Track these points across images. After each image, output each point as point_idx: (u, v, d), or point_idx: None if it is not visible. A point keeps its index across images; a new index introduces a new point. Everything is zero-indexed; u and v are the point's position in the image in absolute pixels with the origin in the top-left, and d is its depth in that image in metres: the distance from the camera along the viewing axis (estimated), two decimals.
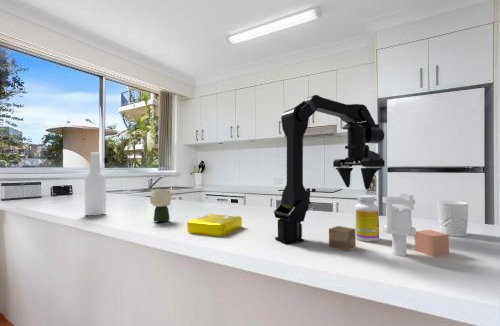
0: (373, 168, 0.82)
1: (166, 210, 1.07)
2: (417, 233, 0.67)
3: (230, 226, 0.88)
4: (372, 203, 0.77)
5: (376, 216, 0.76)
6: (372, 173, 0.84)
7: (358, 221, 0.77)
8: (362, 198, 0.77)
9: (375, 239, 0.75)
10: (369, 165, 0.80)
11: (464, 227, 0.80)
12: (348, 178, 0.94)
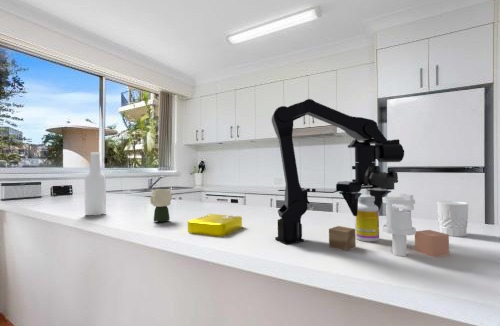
0: (344, 193, 0.76)
1: (166, 210, 1.07)
2: (417, 233, 0.67)
3: (230, 226, 0.88)
4: (372, 203, 0.77)
5: (376, 216, 0.76)
6: (353, 199, 0.75)
7: (358, 221, 0.77)
8: (362, 198, 0.77)
9: (375, 239, 0.75)
10: None
11: (464, 227, 0.80)
12: (377, 203, 0.80)
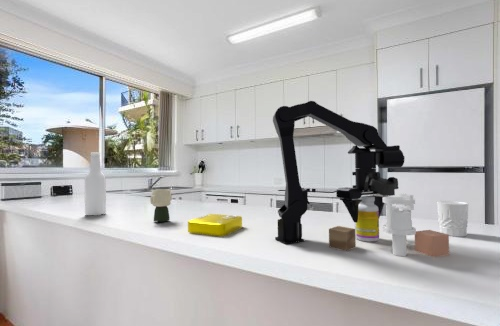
0: (345, 199, 0.76)
1: (166, 210, 1.07)
2: (417, 233, 0.67)
3: (230, 226, 0.88)
4: (372, 203, 0.77)
5: (376, 216, 0.76)
6: (353, 205, 0.75)
7: (358, 221, 0.77)
8: (362, 198, 0.77)
9: (375, 239, 0.75)
10: None
11: (464, 227, 0.80)
12: None
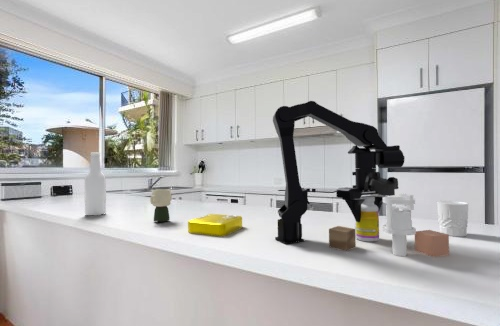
0: (347, 199, 0.76)
1: (166, 210, 1.07)
2: (417, 233, 0.67)
3: (231, 226, 0.88)
4: (372, 203, 0.77)
5: (376, 216, 0.76)
6: (356, 205, 0.76)
7: None
8: (362, 198, 0.77)
9: (375, 239, 0.75)
10: None
11: (464, 227, 0.80)
12: None
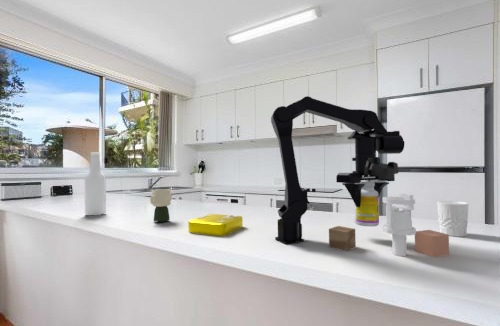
0: (347, 184, 0.76)
1: (166, 210, 1.07)
2: (417, 233, 0.67)
3: (231, 225, 0.88)
4: (372, 188, 0.77)
5: (376, 201, 0.76)
6: (356, 189, 0.76)
7: None
8: (362, 183, 0.77)
9: (375, 224, 0.76)
10: None
11: (464, 227, 0.80)
12: None
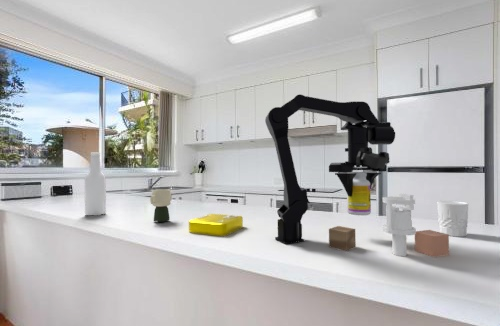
0: (340, 173, 0.78)
1: (166, 210, 1.07)
2: (417, 233, 0.67)
3: (231, 225, 0.88)
4: (364, 178, 0.78)
5: (368, 190, 0.77)
6: (348, 179, 0.77)
7: None
8: None
9: (366, 213, 0.77)
10: None
11: (464, 227, 0.80)
12: None
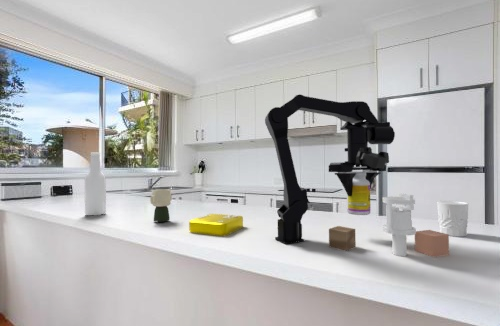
0: (339, 173, 0.78)
1: (166, 210, 1.07)
2: (417, 233, 0.67)
3: (232, 225, 0.88)
4: (363, 178, 0.78)
5: (367, 190, 0.77)
6: (348, 179, 0.77)
7: (350, 196, 0.79)
8: None
9: (366, 212, 0.77)
10: None
11: (464, 227, 0.80)
12: None
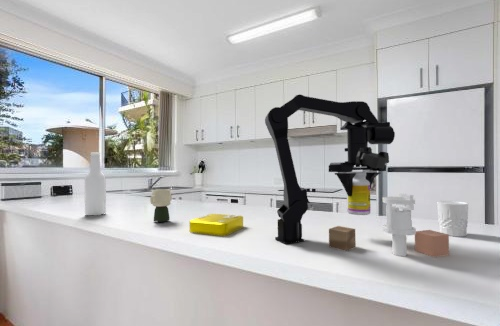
0: (339, 173, 0.78)
1: (166, 210, 1.07)
2: (417, 233, 0.67)
3: (232, 225, 0.89)
4: (363, 178, 0.78)
5: (367, 190, 0.77)
6: (348, 179, 0.77)
7: (350, 196, 0.79)
8: None
9: (366, 212, 0.77)
10: None
11: (464, 227, 0.80)
12: None
